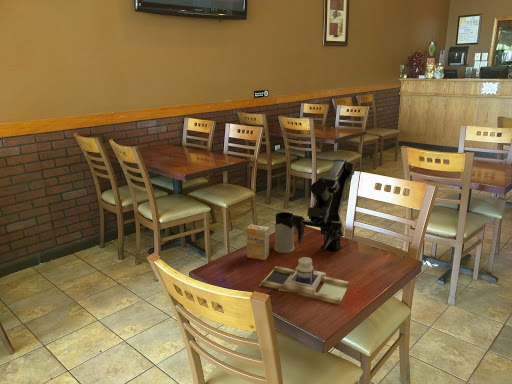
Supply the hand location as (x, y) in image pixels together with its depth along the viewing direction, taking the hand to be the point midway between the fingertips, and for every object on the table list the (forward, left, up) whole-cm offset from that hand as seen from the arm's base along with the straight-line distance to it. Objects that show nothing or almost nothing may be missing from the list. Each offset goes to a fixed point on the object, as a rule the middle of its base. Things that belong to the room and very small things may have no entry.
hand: (311, 246), depth 141 cm
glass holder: (-26, +10, -13) cm, 31 cm away
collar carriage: (+3, -6, -12) cm, 14 cm away
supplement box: (-25, -6, -13) cm, 29 cm away
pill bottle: (+3, -6, -13) cm, 14 cm away
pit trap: (-6, -10, -12) cm, 17 cm away
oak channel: (+3, -6, -12) cm, 14 cm away
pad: (+12, -1, -12) cm, 17 cm away
